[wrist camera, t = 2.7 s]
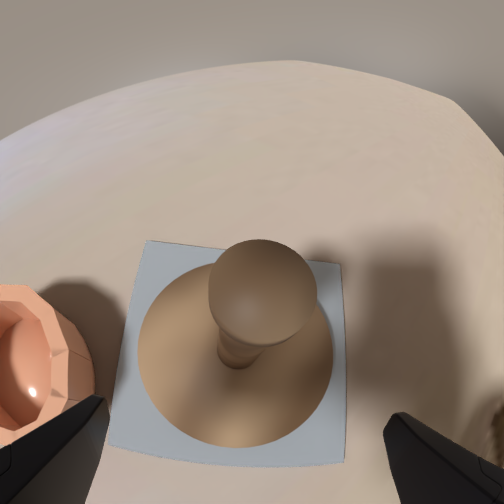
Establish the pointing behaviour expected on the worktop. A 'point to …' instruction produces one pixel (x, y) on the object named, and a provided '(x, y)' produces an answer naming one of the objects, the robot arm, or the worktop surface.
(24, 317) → the bowl
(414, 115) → the worktop surface
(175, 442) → the mat
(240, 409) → the lid
